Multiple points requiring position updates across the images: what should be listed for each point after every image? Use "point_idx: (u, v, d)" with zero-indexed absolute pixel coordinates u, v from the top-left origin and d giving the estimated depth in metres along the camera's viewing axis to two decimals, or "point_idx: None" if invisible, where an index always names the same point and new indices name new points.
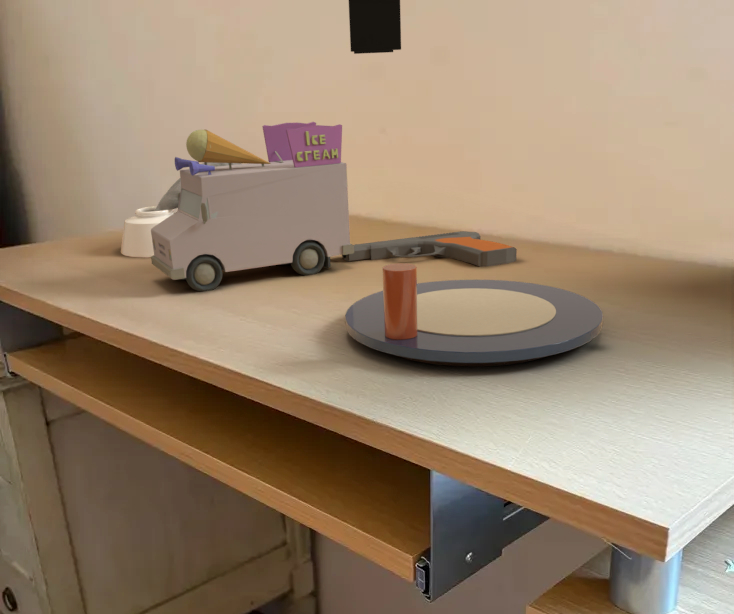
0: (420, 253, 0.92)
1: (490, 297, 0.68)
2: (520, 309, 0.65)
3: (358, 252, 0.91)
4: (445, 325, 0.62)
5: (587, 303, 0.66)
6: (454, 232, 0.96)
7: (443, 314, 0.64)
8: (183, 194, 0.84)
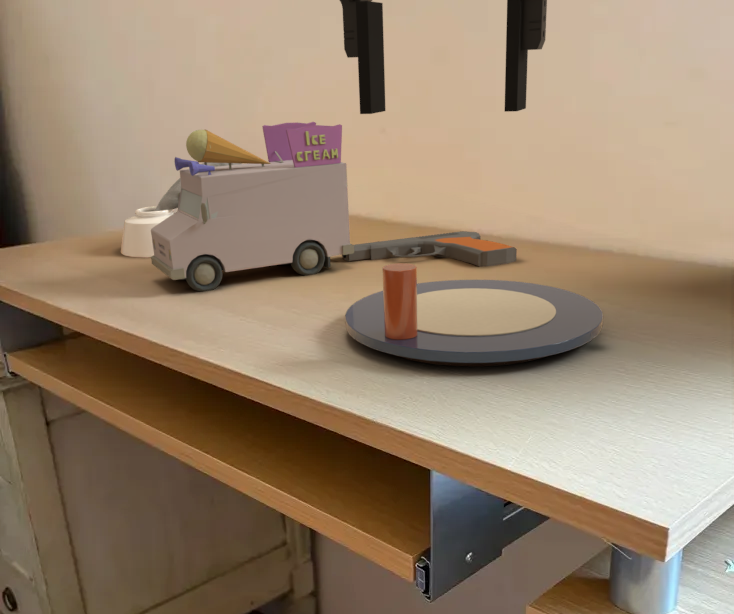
0: (420, 253, 0.92)
1: (490, 297, 0.68)
2: (520, 309, 0.65)
3: (358, 252, 0.91)
4: (445, 325, 0.62)
5: (587, 303, 0.66)
6: (454, 232, 0.96)
7: (443, 314, 0.64)
8: (183, 194, 0.84)
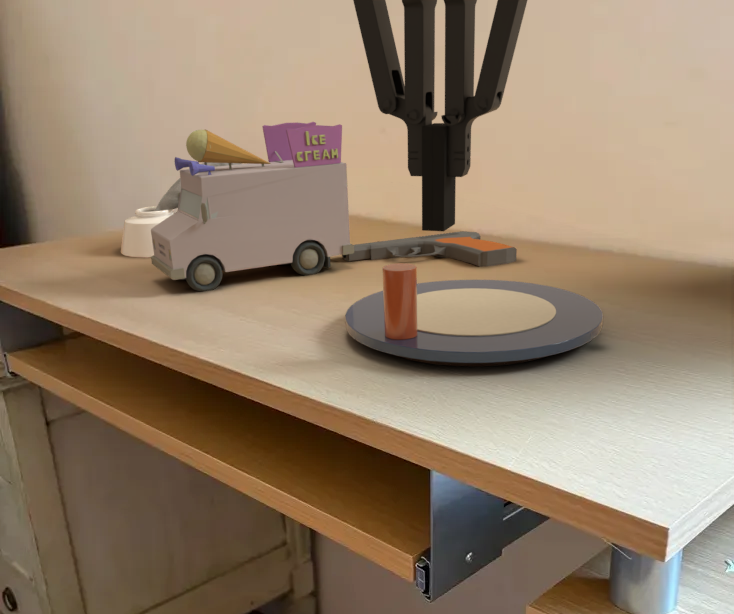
0: (420, 253, 0.92)
1: (490, 297, 0.68)
2: (520, 309, 0.65)
3: (358, 252, 0.91)
4: (445, 325, 0.62)
5: (587, 303, 0.66)
6: (454, 232, 0.96)
7: (443, 314, 0.64)
8: (183, 194, 0.84)
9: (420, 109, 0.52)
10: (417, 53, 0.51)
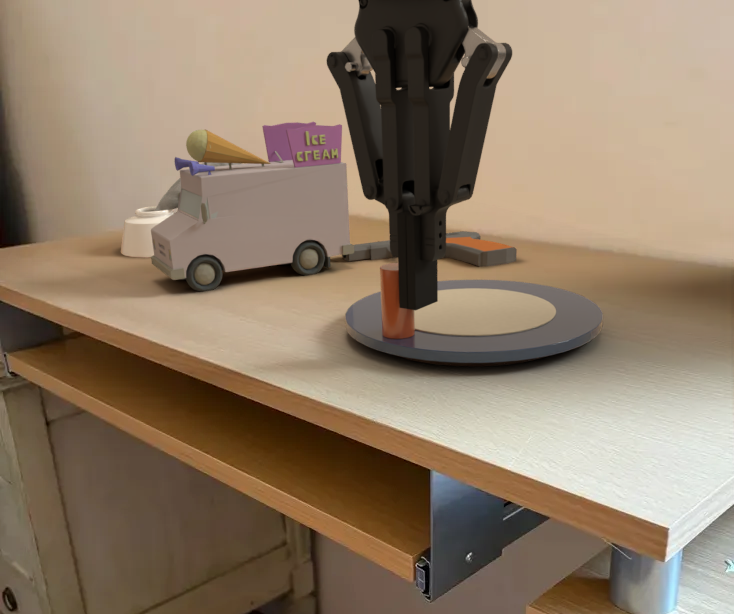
0: None
1: (491, 297, 0.68)
2: (520, 309, 0.65)
3: (358, 252, 0.91)
4: (443, 325, 0.62)
5: (588, 304, 0.66)
6: (454, 232, 0.96)
7: (442, 314, 0.64)
8: (183, 194, 0.84)
9: (396, 197, 0.55)
10: (392, 147, 0.54)
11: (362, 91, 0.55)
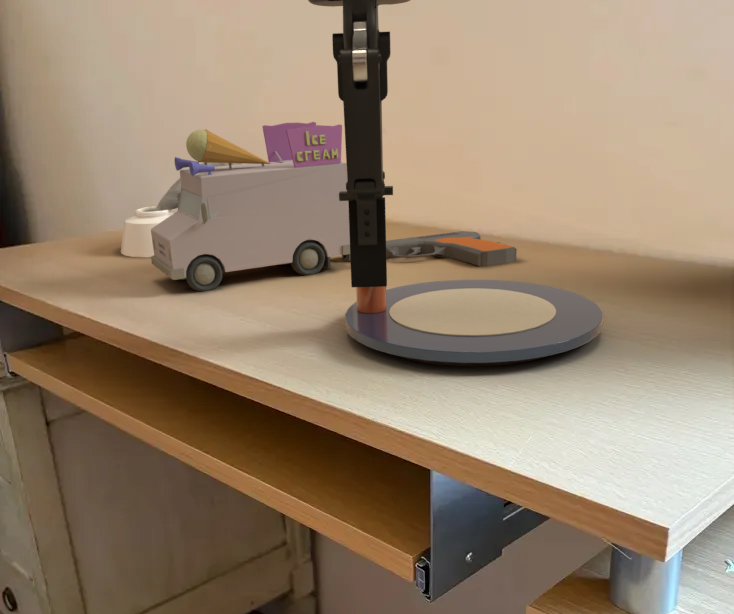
0: (420, 253, 0.92)
1: (519, 306, 0.66)
2: (500, 320, 0.62)
3: None
4: (413, 312, 0.65)
5: (570, 335, 0.59)
6: (454, 232, 0.96)
7: (441, 306, 0.66)
8: (183, 194, 0.84)
9: None
10: None
11: None
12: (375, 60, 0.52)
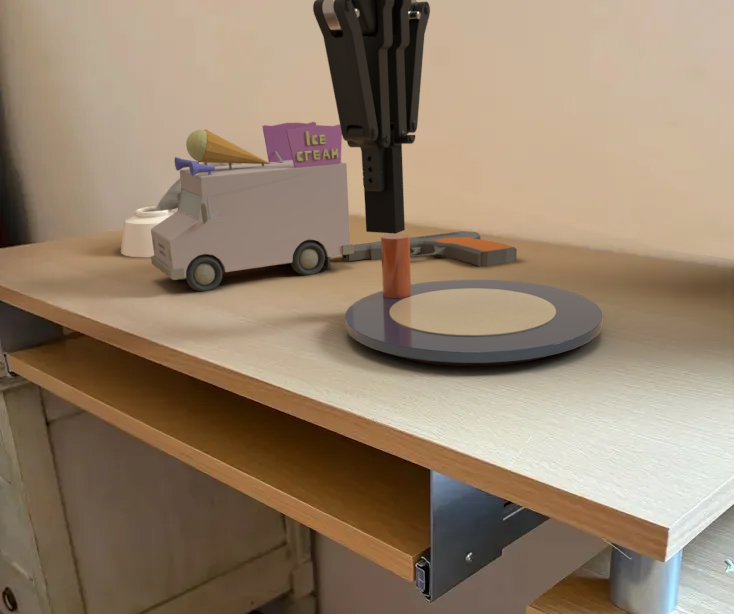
0: (420, 253, 0.92)
1: (518, 314, 0.64)
2: (472, 323, 0.62)
3: (358, 252, 0.91)
4: (418, 303, 0.67)
5: (504, 347, 0.57)
6: (454, 232, 0.96)
7: (454, 302, 0.67)
8: (183, 194, 0.84)
9: None
10: None
11: None
12: (340, 8, 0.55)
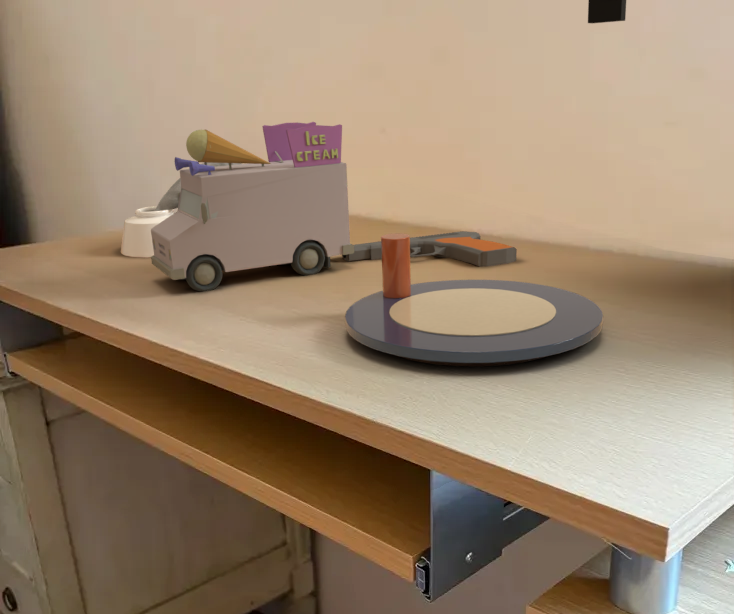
0: (420, 253, 0.92)
1: (518, 314, 0.64)
2: (472, 323, 0.62)
3: (358, 252, 0.91)
4: (418, 303, 0.67)
5: (504, 347, 0.57)
6: (454, 232, 0.96)
7: (454, 302, 0.67)
8: (183, 194, 0.84)
9: None
10: None
11: None
12: None
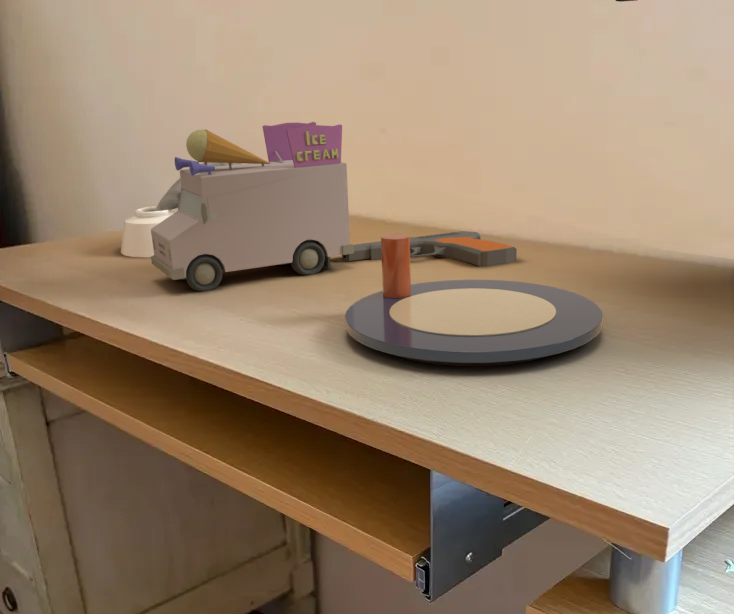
0: (420, 253, 0.92)
1: (518, 314, 0.64)
2: (472, 323, 0.62)
3: (358, 252, 0.91)
4: (418, 303, 0.67)
5: (504, 347, 0.57)
6: (454, 232, 0.96)
7: (454, 302, 0.67)
8: (183, 194, 0.84)
9: None
10: None
11: None
12: None
